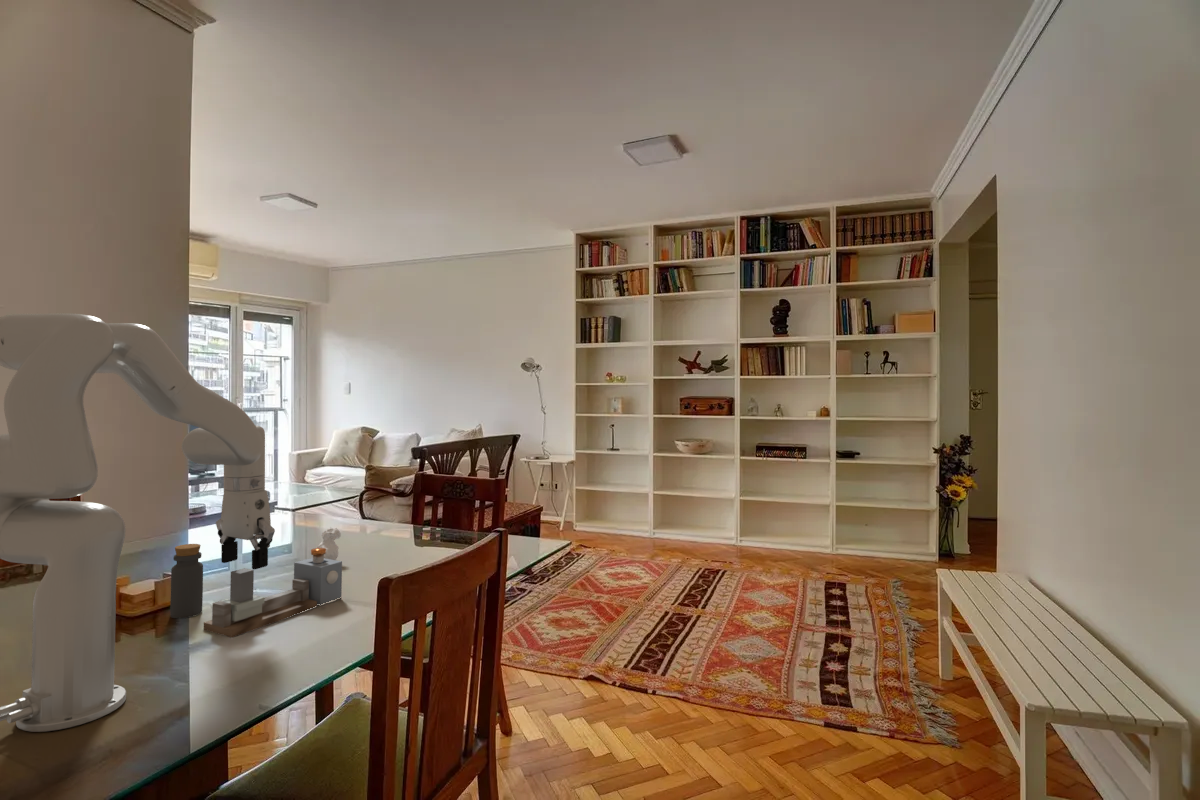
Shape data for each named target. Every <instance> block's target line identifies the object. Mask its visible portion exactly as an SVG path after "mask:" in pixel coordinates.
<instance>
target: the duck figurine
mask: <svg viewBox="0 0 1200 800" xmlns="http://www.w3.org/2000/svg"><path fill="white" fill-rule="evenodd" d="M341 535H342V533H341V532H340V530H339V528H337V527H335V528H333V527H331V526H330V527H329V528H327V530H324V531H323V532H322V535H321V538H322V541H321V542H320V543H319V544H318V545H317V547H316V548H326V553H325V554H324V558H325V559H331V560H338V557H339V546H338V544H336V541H335V540H337V539H338V540H339V539H340V538H341Z"/></svg>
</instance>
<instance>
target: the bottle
mask: <svg viewBox="0 0 1200 800" xmlns="http://www.w3.org/2000/svg"><path fill="white" fill-rule="evenodd" d="M200 549H201V544H199V543H187V544H180V545H177V546H175V547H174V551H175V554H174V555H173V561H175V562H176V564H174V565H173V566H172V567H171V569H170V570H171V571H170V572H171V573H170V575H171V576H170V605H169V606H170V611H169V612H170V618H172V619H186V618H192V617H195V616H198V615H200V614H201V613H202V612H203V595H204V594H203V593H204V592H203V590H204V564H203V563H202V562H200V561H199V559H201V558H202V552H201V551H200Z"/></svg>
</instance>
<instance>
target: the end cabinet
mask: <svg viewBox="0 0 1200 800" xmlns="http://www.w3.org/2000/svg"><path fill="white" fill-rule="evenodd" d="M297 578H300V579H305V580H309V599H310V600H314V601H317V604H320V605H321V604H323V603H326V602H329V601H331V600H335V599H337V598H340V597H341V598H342V585H343V583H342V582H343V581H342V580H343V579H342V578H343V561H341V560H338V559H336V560H331V559H325V558H324V563H321V564H313V557H310V558H306V559H302V560H299V561H294V562H293V580H294V579H297Z"/></svg>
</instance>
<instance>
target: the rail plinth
mask: <svg viewBox="0 0 1200 800" xmlns="http://www.w3.org/2000/svg"><path fill="white" fill-rule="evenodd" d="M291 583H292V584H291V585H292V588H291V589H289V590H286V591H282V592H278V593H276V594H272V595H269V596H266V597H264V603H263V604H262V613H259V614H256V615H253V616H250V617H247V618H244V619H241V620H238V621H232V610H231V604H230V603H226V602H222V601H221V600H219V601H215V602H212V611H211V612H212V614H211V620H207V621H204V622H203V630H204V631H206V632H209V633H210V632H211V633H215V634H218V635H222V636H225V637H228V638H235V637H238V636H240V635H243V634H245V633H249V632H252V631H254V630H257V629H260V628H263V627H266V626H268V625H272V624H274V623H277V622H279V621H283V620H285V618H286V619H288V618H287V617H289V618H291V617H293V616H292V615H294V614H297V613H300V612H302V611H305V610H307V609H310V608H313V607H315V606H317V601H314V600H310V599H309V580H305V579H300V578H297V579H294V578H293V579H292V582H291ZM300 614H301V613H300ZM297 615H298V614H297ZM290 616H291V617H290ZM294 616H295V615H294Z"/></svg>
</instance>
